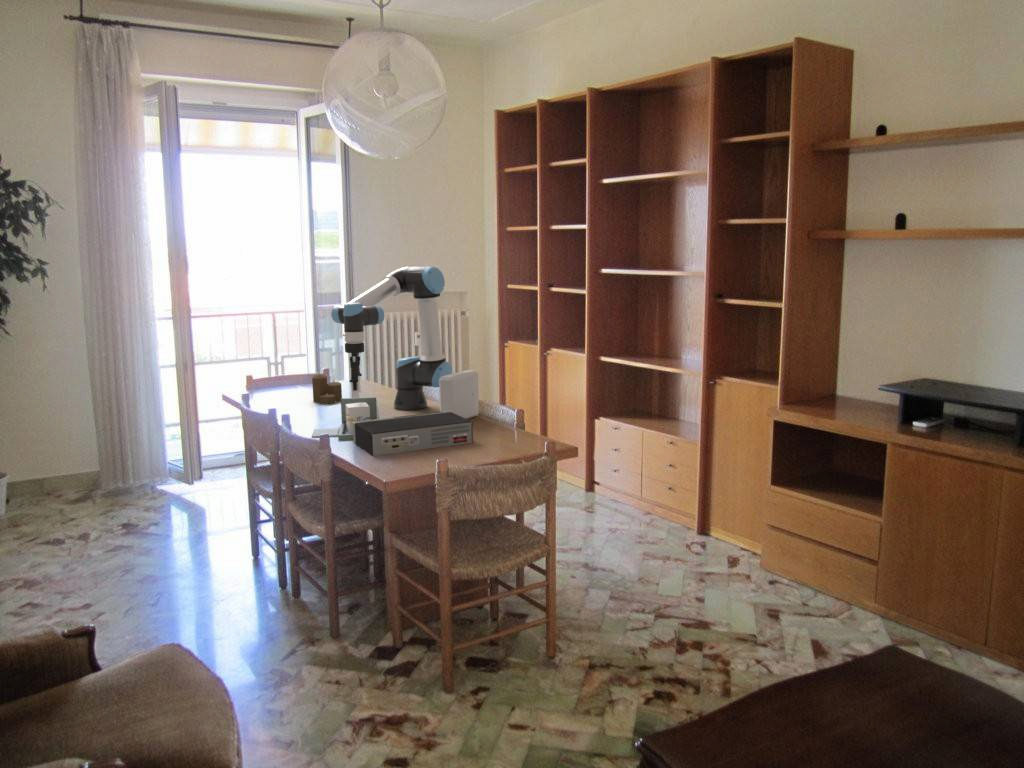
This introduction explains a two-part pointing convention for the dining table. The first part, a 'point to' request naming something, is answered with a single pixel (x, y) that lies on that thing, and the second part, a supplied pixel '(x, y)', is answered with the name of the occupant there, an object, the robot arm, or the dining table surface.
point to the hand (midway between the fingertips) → (356, 395)
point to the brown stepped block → (325, 390)
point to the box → (412, 432)
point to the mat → (331, 432)
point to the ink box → (356, 414)
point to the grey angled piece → (370, 401)
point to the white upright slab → (460, 393)
